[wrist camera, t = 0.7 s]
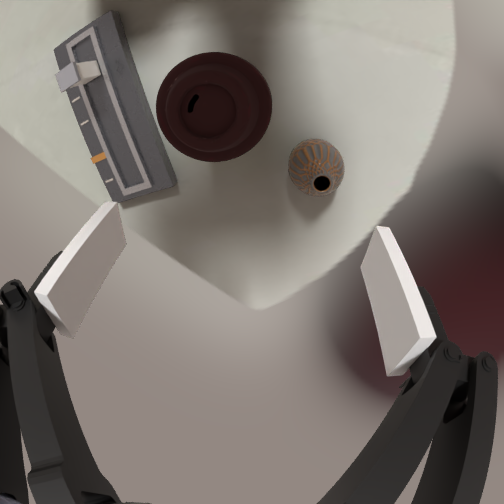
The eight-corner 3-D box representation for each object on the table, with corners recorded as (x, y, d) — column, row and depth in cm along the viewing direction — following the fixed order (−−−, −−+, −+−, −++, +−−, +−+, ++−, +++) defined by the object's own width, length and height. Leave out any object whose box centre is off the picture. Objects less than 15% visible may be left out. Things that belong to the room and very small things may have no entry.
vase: (305, 189, 39) (311, 221, 32) (277, 151, 36) (277, 175, 29) (346, 165, 36) (363, 192, 29) (320, 124, 33) (332, 141, 26)
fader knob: (80, 69, 27) (55, 74, 22) (97, 58, 26) (72, 61, 22) (85, 85, 28) (61, 92, 24) (102, 75, 28) (78, 80, 23)
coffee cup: (287, 107, 32) (294, 134, 20) (221, 141, 36) (191, 188, 24) (247, 43, 27) (228, 28, 15) (181, 82, 31) (126, 98, 19)
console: (61, 49, 26) (50, 50, 24) (118, 11, 24) (108, 10, 22) (119, 198, 42) (112, 206, 40) (177, 180, 40) (171, 188, 38)
